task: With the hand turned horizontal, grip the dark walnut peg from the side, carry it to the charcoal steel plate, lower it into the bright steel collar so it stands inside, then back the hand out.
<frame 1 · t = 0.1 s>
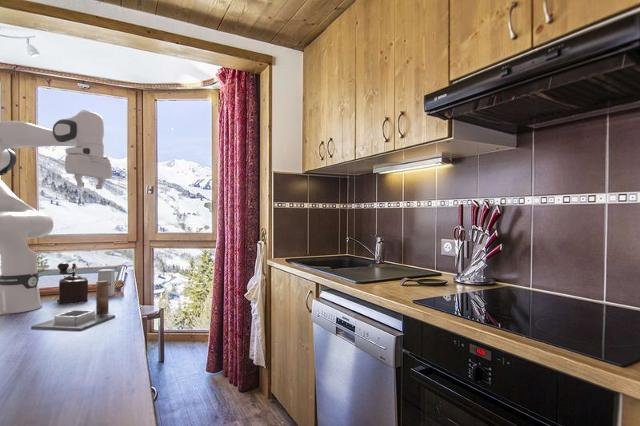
hand: (90, 188, 141), 48 cm above the worktop, tool pointing down, fingers open, 8 cm apart
walnut peg: (102, 313, 139), on the worktop
manual coffee grinder: (72, 302, 157), on the worktop
skincare box: (106, 296, 171), on the worktop
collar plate: (75, 322, 126), on the worktop
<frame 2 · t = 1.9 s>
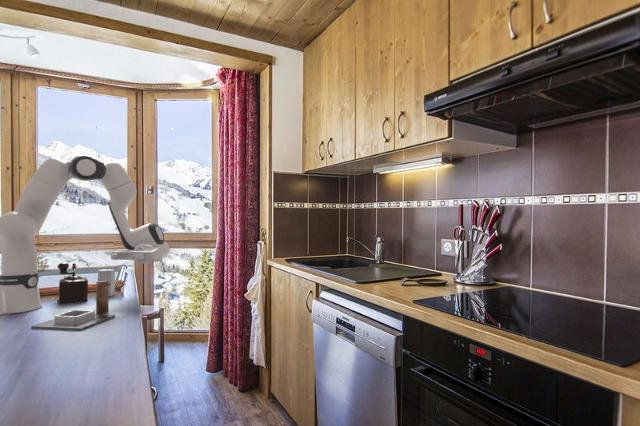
hand: (123, 257, 151), 20 cm above the worktop, tool horizontal, fingers open, 8 cm apart
nothing on the worktop moved.
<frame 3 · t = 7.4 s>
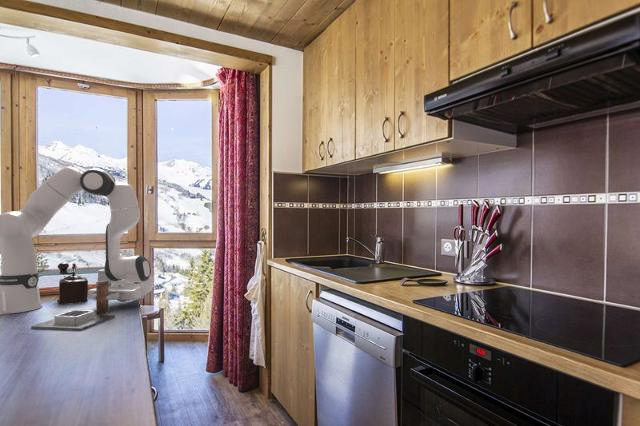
hand: (100, 297, 138), 6 cm above the worktop, tool horizontal, fingers closed on walnut peg, 4 cm apart
walnut peg: (102, 313, 139), on the worktop, touching gripper
everything else where it was.
when the fingers open (8 cm above the worktop, at t = 14.9 s): walnut peg stays where it is, resting on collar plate.
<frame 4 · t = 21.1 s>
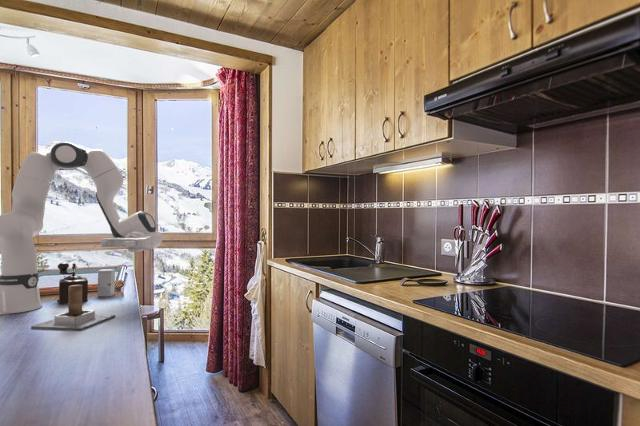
hand: (113, 243, 145), 26 cm above the worktop, tool horizontal, fingers open, 8 cm apart
walnut peg: (75, 320, 126), point 1 cm above the worktop, touching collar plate
everything else where it was.
at the end: walnut peg 0.0 cm off-centre on the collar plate, point 0.8 cm above the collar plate's base; walnut peg tilted 0°; the gripper is holding nothing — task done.
